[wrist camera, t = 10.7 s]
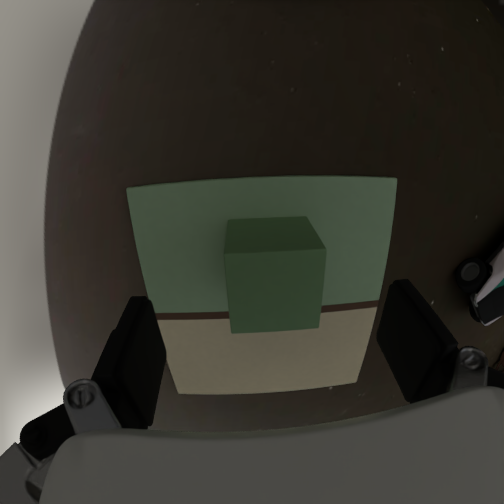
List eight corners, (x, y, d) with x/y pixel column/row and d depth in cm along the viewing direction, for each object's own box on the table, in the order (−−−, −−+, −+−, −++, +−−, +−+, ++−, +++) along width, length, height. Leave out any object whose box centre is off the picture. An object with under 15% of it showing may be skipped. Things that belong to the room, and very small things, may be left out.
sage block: (232, 287, 18) (231, 334, 14) (227, 218, 16) (223, 254, 12) (303, 283, 18) (319, 328, 14) (306, 215, 17) (327, 249, 12)
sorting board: (178, 390, 24) (178, 394, 23) (128, 187, 16) (125, 188, 15) (355, 379, 24) (356, 382, 23) (394, 177, 16) (397, 178, 16)
